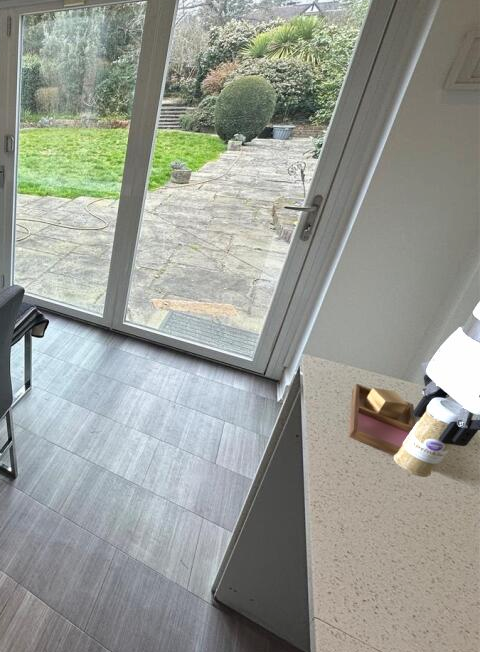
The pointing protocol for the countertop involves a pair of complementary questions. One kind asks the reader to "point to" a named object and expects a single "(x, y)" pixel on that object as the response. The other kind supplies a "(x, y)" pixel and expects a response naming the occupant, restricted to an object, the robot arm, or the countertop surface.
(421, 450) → the sprinkles bottle
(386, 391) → the oak block
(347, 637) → the countertop surface
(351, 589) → the countertop surface
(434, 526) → the countertop surface
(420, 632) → the countertop surface
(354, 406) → the tray
